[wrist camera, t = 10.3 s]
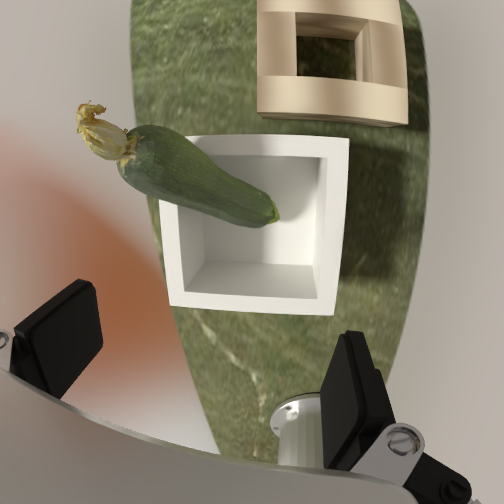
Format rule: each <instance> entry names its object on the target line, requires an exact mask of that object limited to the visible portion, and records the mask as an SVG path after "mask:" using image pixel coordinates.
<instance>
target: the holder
mask: <svg viewBox="0 0 504 504" xmlns="http://www.w3.org/2000/svg"><path fill="white" fill-rule="evenodd" d="M296 36H311V37H325V38H336V39H345V40H353V41H354V43H355V60H356V81H353V80H344V79H334V78H321V77H304V76H297V61H296ZM257 112H258V113H259V115H260V116H261V117H262V118H263V119H297V120H317V121H331V122H343V123H354V124H363V125H372V126H380V127H391V126H398V125H406V124H408V89H407V69H406V55H405V45H404V35H403V27H402V20H401V13H400V6H399V1H398V0H257Z"/></svg>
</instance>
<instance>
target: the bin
mask: <svg viewBox="0 0 504 504" xmlns="http://www.w3.org/2000/svg"><path fill="white" fill-rule="evenodd" d="M185 138H187V139H188V140H190V141H191V142H192V143H193V144H194V145H195V146H197V147H198V148H199V149H200V150H202V151H203V152H204V153H205V154H206V155H207V156H208V157H209V158H210V159H211V160H212V161H213V162H214V163H215V164H216V165H217V166H218V167H219V168H220V169H222V170H223V171H225V172H226V173H228V174H229V175H231V176H233V177H235V178H237V179H240V180H242V181H244V182H246V183H248V184H250V185H252V186H253V187H255V188H257V189H259V190H261V191H263V192H265V193H266V194H268V195H269V196H270V198H271V200H272V201H274V202H275V205H276V209H277V210H278V213H279V216H280V220H278V221H277V222H275V223H272V224H266V225H265V226H263V227H261V228H248V227H244V226H237V225H234V224H231V223H229V222H226V221H224V220H221V219H219V218H216V217H213V216H211V215H208V214H205V213H202V212H199V211H196V210H193V209H190V208H186V207H183V206H179V205H175V204H172V203H169V202H166V201H163V200H160V199H159V206H160V220H161V231H162V242H163V252H164V261H165V270H166V279H167V287H168V294H169V301H170V305H172V306H182V307H193V308H204V309H216V310H230V311H244V312H260V313H279V314H303V315H333V314H334V308H335V301H336V294H337V287H338V279H339V271H340V262H341V254H342V244H343V234H344V223H345V211H346V197H347V180H348V159H349V139H348V138H336V137H322V136H303V135H270V134H240V135H207V136H188V137H185Z"/></svg>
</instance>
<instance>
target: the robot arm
mask: <svg viewBox="0 0 504 504" xmlns="http://www.w3.org/2000/svg"><path fill="white" fill-rule="evenodd" d="M14 332H15V336H14V337H12V335H11V333H10V332H8V331H7V330H3V329H0V504H481V503H480V502H479V501H478V500H477V499H476V500H475V501H473V500H472V499H471V495H472V489H471V486H470V483H469V482H468V480H467V479H466V478H465V477H463V476H462V475H460V474H459V473H457V472H455V471H453V470H452V469H450V468H448V467H447V466H445V465H443V464H442V463H440V462H439V461H437V460H435V459H433V458H432V457H430V456H429V455H427V454H426V453H424V452H423V450H424V447H425V443H424V439H423V436H422V435H421V433H420V432H419V431H418V430H417V429H416V428H414V427H413V426H410V425H408V424H404V423H396V421H395V418H394V414H393V411H392V407H391V404H390V400H389V397H388V394H387V391H386V387H385V384H384V381H383V378H382V375H381V372H380V370H379V369H375V368H374V364H373V361H372V358H371V355H370V352H369V349H368V346H367V343H366V340H365V337H364V334H363V332H359V331H350V330H347V331H346V333H345V334H340V336H339V339H338V342H337V345H336V348H335V351H334V354H333V356H332V359H331V362H330V365H329V368H328V370H327V373H326V376H325V378H324V381H323V384H322V386H321V390H320V394H319V393H314V394H305V395H300V396H296V397H293V398H290V399H288V400H286V401H284V402H283V403H281V404H280V405H278V406H277V407H276V409H275V410H274V411H273V413H272V415H271V421H270V426H271V429H272V431H273V432H274V433H275V434H276V435H277V436H278V437H279V438H280V441H279V454H278V464H272V463H264V462H258V461H251V460H245V459H239V458H233V457H228V456H223V455H218V454H213V453H209V452H204V451H200V450H195V449H192V448H188V447H184V446H180V445H176V444H173V443H169V442H166V441H163V440H159V439H156V438H153V437H150V436H146V435H144V434H141V433H138V432H135V431H132V430H129V429H127V428H124V427H121V426H118V425H116V424H113V423H111V422H108V421H106V420H103V419H101V418H98V417H96V416H94V415H91V414H89V413H87V412H84V411H82V410H80V409H78V408H76V407H74V406H71V405H69V404H67V403H65V402H63V401H61V400H60V399H61V398H62V396H63V395H64V394H65V393H66V391H67V390H68V389H69V388H70V386H71V385H72V384H73V383H74V381H75V380H76V379H77V378H78V376H79V375H80V374H81V373H82V371H83V370H84V369H85V368H86V367H87V365H88V364H89V363H90V362H91V361H92V359H93V358H94V357H95V356H96V355H97V353H98V352H99V351H100V349H101V348H102V346H103V337H102V332H101V325H100V318H99V312H98V305H97V297H96V290H95V287H94V286H93V285H92V283H91V282H89V281H85V280H82V279H77V280H76V281H74V282H73V283H72V284H70V285H69V286H67V287H66V288H65V289H63V290H62V291H61V292H59V293H58V294H57V295H55V296H54V297H53V298H51V299H50V300H49V301H47V302H46V303H45V304H43V305H42V306H41V307H39V308H38V309H37V310H36V311H34V312H33V313H32V314H30V315H29V316H28V317H27V318H26V319H24V320H23V321H22V322H21V323H19V324H18V325H17V326H16V327H14Z"/></svg>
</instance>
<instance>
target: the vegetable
mask: <svg viewBox="0 0 504 504" xmlns="http://www.w3.org/2000/svg"><path fill="white" fill-rule="evenodd" d="M90 101H91V100H90ZM90 101H89V102H90ZM105 110H106V108H104V107H103V106H101V105H99V104H98V105H97V106H95V105H89V103H88V104H81V105H79V106H78V109H77V114H78V115H77V116H76V121H77V126H78V128H77V133H81V134H82V137H83V141H86V144H87V146H88V147H89V148H90V149H91V150H92V151H93V152H94V153H95V154H97V155H99V156H100V157H102V158H104V159H106V160H114V161H115V160H116V161H117V167H118V171H119V173H120V175H121V176H122V178H123V179H124V180H125V181H126V182H127V183H128V184H129V185H131V186H132V187H134V188H135V189H137V190H138V191H140V192H142V193H144V194H146V195H148V196H151V197H154V198H156V199H160V200H163V201H166V202H169V203H172V204H175V205H179V206H183V207H186V208H190V209H193V210H196V211H199V212H202V213H205V214H208V215H211V216H213V217H216V218H219V219H221V220H224V221H226V222H229V223H231V224H234V225H237V226H244V227H248V228H261V227H263V226H265V225H266V224H272V223H275V222H277V221H278V220H280V216H279V213H278V210H277V209H276V205H275V202H274V201H272V200H271V198H270V196H269V195H268V194H266V193H265V192H263V191H261V190H259V189H257V188H255V187H253V186H252V185H250V184H248V183H246V182H244V181H242V180H240V179H237V178H235V177H233V176H231V175H229V174H228V173H226V172H225V171H223V170H222V169H220V168H219V167H218V166H217V165H216V164H215V163H214V162H213V161H212V160H211V159H210V158H209V157H208V156H207V155H206V154H205V153H204V152H203V151H202V150H200V149H199V148H198V147H197V146H195V145H194V144H193V143H192V142H191V141H190V140H188V139H187V138H185V137H184V136H182V135H180V134H179V133H177V132H175V131H173V130H171V129H169V128H165V127H161V126H155V125H143V126H139V127H136V128H134V129H132V130H130V131H129V132H128V133H127V134H126V132H127V131H128V130H127V129H124V131H122V129H120V128H119V127H118V126H115V125H113V124H111V123H109V122H107V121H105V120H101V119H95V118H94V116H95V114H93V113H94V112H95V113H96V115H100V114H101V113H104V112H105Z"/></svg>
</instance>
